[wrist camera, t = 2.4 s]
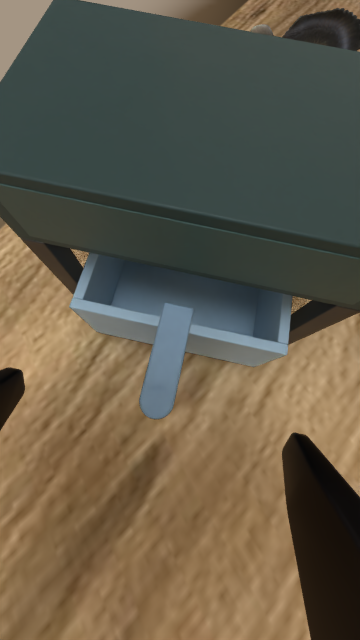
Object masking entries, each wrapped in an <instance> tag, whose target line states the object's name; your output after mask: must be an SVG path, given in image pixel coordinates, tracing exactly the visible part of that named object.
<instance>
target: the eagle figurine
mask: <svg viewBox="0 0 360 640" xmlns="http://www.w3.org/2000/svg"><path fill="white" fill-rule="evenodd" d="M251 32H254V33H260V34H265V35H271V36H274V35H273V33H272V31H271V28H270V27H269V26H268V25H263V24H262V25H257V26H255V27H253V28H252V29H251ZM282 38H287V39H292V40H298V41H303V42H309V43H314V44H319V45H325V46H330V47H336V48H341V49H347V50H352V51H357V50H358V49H360V19H357V16H356V15H353V12H349V11H348V10H346V11H344V8H342V9H339V8H336V9H333V10H327V11H325V12H317V13H314V14H309V15H304V16H300V17H299V18H298V19H297V21H295V23H294V24H293V25H292V26H291V27H290V28H289V30H288V31H286V33H285V35H284V36H283V37H282Z"/></svg>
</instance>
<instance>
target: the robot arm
mask: <svg viewBox="0 0 360 640" xmlns="http://www.w3.org/2000/svg"><path fill="white" fill-rule="evenodd" d="M24 391H25V384H24V378H23V372H22V371H21V370H19V369H15V368H5V369H2V370H0V430H1V429H2V427H3V426H4V424H5V422H6V421H7V419H8V418H9V416H10V415H11V413H12V412H13V410H14V408H15V407H16V405H17V404H18V402H19V401H20V399H21V398H22V396H23V394H24ZM282 460H283V472H284V483H285V495H286V505H287V512H288V518H289V523H290V529H291V534H292V539H293V545H294V550H295V556H296V561H297V566H298V572H299V577H300V583H301V588H302V593H303V599H304V604H305V610H306V615H307V620H308V626H309V631H310V637H311V640H360V497H359V496H358V495H357V493H356V492H355V491H354V490H353V489H352V488H351V486H350V485H349V484H348V483H347V482H346V481H345V479H344V478H343V477H342V476H341V475H340V474H339V472H338V471H337V470H336V469H335V468H334V467H333V465H332V464H331V463H330V462H329V461H328V460H327V458H326V457H325V456H324V455H323V454H322V453H321V451H320V450H319V449H318V448H317V447H316V446H315V444H314V443H313V442H312V441H311V440H310V438H309V437H308V436H306V435H303V434H299V433H292V434H291V436H290V437H289V439H288V441H287V442H286V444H285V446H284V448H283V451H282Z"/></svg>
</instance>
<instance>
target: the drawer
mask: <svg viewBox="0 0 360 640" xmlns="http://www.w3.org/2000/svg"><path fill="white" fill-rule="evenodd" d="M73 297H74V298H72V301H71V303H70V308H71V309H72V310H73V311H74V312H76V313H77V314H78V315H79V316H80V317H81V318H82V319H83V320H84V321H86V322H87V323H88V324H89V325H90V326H91V327H92V328H93V329H94V330H96V331H97V332H99V333H104V334H108V335H113V336H117V337H122V338H126V339H130V340H135V341H139V342H144V343H148V344H153V347H152V351H151V355H150V359H149V363H148V367H147V371H146V375H145V379H144V383H143V387H142V391H141V395H140V399H139V404H140V408H141V410H142V412H143V413H144V414H145V415H146V416H147V417H149V418H151V419H161V418H164V417H166V416H167V415H168V414H169V413H170V412H171V410H172V408H173V406H174V401H175V397H176V392H177V387H178V383H179V378H180V373H181V369H182V364H183V359H184V355H185V352H189V353H193V354H198V355H202V356H207V357H211V358H216V359H220V360H225V361H229V362H234V363H238V364H243V365H247V366H252V367H256V366H258V365H261V364H264V363H267V362H269V361H272V360H275V359H277V358H280V357H283V356H286V355H287V352H288V345H287V344H288V341H289V330H290V319H291V308H292V297H293V296H291V295H286V294H281V293H277V292H272V291H267V290H263V289H258V288H253V287H249V286H244V285H239V284H234V283H230V282H225V281H220V280H216V279H211V278H206V277H202V276H197V275H192V274H188V273H183V272H178V271H174V270H169V269H164V268H160V267H155V266H150V265H145V264H141V263H136V262H131V261H127V260H122V259H117V258H113V257H108V256H103V255H99V254H94V253H89V255H88V258H87V260H86V263H85V266H84V269H83V271H82V274H81V277H80V279H79V282H78V285H77V287H76V290H75V293H74V295H73Z"/></svg>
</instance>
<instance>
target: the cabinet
mask: <svg viewBox="0 0 360 640" xmlns="http://www.w3.org/2000/svg"><path fill="white" fill-rule="evenodd" d="M0 217H1V218H2V219H3V220H4V221H5V222H6V223H7V224H8V226H9V227H10V228H11V229H12V230H13V231H14V232H15V233H16V234H17V235H18V236H19V237H20V238H21V239H22V241H23V242H24V243H25V244H26V245H27V246H28V247H29V248H30V249H31V250H32V251H33V252H34V253H35V254H36V255H37V257H38V258H39V259H40V260H41V261H42V262H43V263H44V264H45V265H46V266H47V267H48V268H49V269H50V270H51V271H52V272H53V274H54V275H55V276H56V277H57V278H58V279H59V280H60V281H61V282H62V283H63V284H64V285H65V286H66V287H67V288H68V289H69V291H70V292H71V293H72V294H73V295H74V293H75V290H76V287H77V285H78V282H79V279H80V277H81V274H82V271H83V267H82V266H81V264H80V263H79V261H78V260H77V258H76V257H75V255H74V254H73V252H72V251H71V249H75V250H80V251H85V252H89V253H94V254H99V255H103V256H108V257H113V258H117V259H122V260H127V261H131V262H136V263H141V264H145V265H150V266H155V267H160V268H164V269H169V270H174V271H178V272H183V273H188V274H192V275H197V276H202V277H206V278H211V279H216V280H220V281H225V282H230V283H234V284H239V285H244V286H249V287H253V288H258V289H263V290H267V291H272V292H277V293H281V294H286V295H291V296H295V297H300V298H305V299H309V300H312V301H310V302H309V303H307V304H306V305H304V306H303V307H302V308H300V309H299V310H297V311H296V312H294V313H293V314H291V319H290V330H289V341H288V344H287V345H289V344H291V343H293V342H295V341H297V340H300V339H302V338H304V337H306V336H309V335H311V334H313V333H315V332H317V331H320V330H322V329H324V328H326V327H328V326H331V325H333V324H335V323H337V322H339V321H342V320H344V319H346V318H348V317H351V316H353V315H355V314H357V313H359V312H360V52H358V51H352V50H347V49H341V48H336V47H330V46H325V45H319V44H314V43H309V42H303V41H298V40H292V39H287V38H281V37H276V36H271V35H265V34H260V33H254V32H249V31H243V30H238V29H232V28H227V27H222V26H216V25H211V24H205V23H200V22H194V21H189V20H183V19H178V18H172V17H167V16H162V15H156V14H151V13H145V12H140V11H134V10H129V9H124V8H118V7H112V6H107V5H101V4H97V3H91V2H86V1H80V0H53V1H52V3H51V5H50V6H49V8H48V9H47V11H46V12H45V14H44V16H43V17H42V18H41V20H40V22H39V23H38V25H37V26H36V28H35V29H34V31H33V32H32V34H31V36H30V37H29V39H28V40H27V42H26V43H25V45H24V46H23V48H22V49H21V51H20V53H19V54H18V56H17V57H16V59H15V60H14V62H13V63H12V65H11V66H10V68H9V70H8V71H7V73H6V74H5V76H4V77H3V79H2V80H1V82H0ZM70 248H71V249H70Z"/></svg>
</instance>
